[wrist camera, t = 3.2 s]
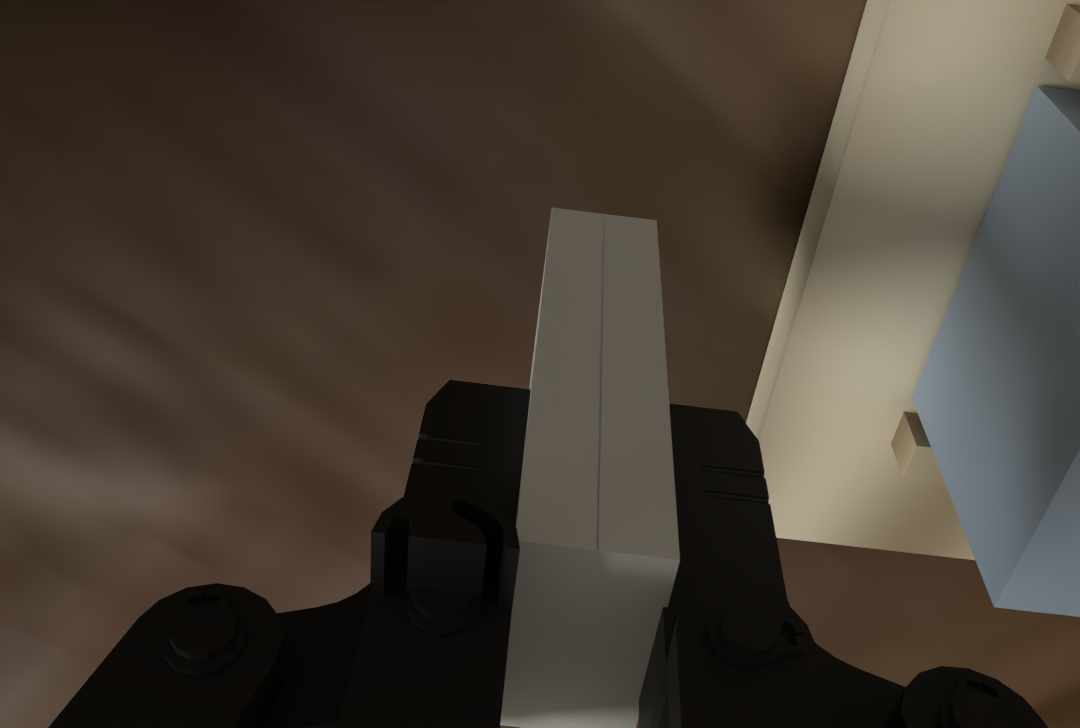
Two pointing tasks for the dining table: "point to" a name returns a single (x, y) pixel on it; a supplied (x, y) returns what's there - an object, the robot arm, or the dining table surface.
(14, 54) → the dining table surface
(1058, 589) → the carriage
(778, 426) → the board
